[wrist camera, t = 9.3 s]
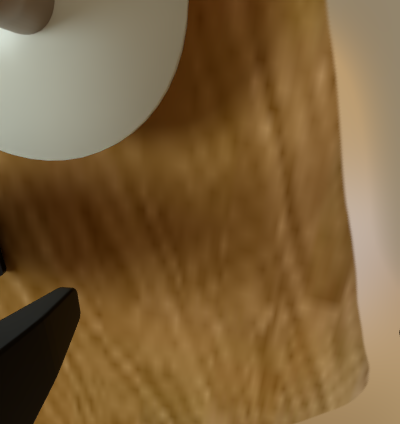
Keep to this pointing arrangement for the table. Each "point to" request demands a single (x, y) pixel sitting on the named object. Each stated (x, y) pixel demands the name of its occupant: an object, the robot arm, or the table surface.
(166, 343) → the table surface
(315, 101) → the table surface
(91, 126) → the lid
